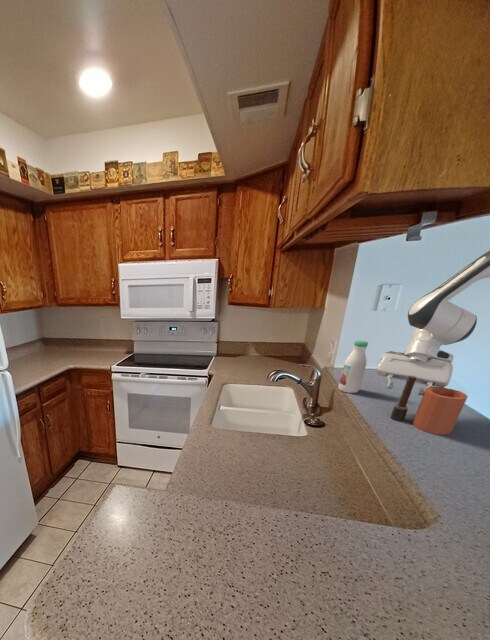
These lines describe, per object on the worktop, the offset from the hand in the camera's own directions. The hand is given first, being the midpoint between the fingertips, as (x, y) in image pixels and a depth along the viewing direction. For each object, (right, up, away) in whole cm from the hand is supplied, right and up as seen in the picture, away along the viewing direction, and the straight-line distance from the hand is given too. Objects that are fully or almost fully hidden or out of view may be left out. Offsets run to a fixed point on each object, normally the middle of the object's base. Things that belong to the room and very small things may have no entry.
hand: (404, 391), depth 109 cm
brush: (0, -9, +4) cm, 10 cm away
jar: (+7, -12, -2) cm, 14 cm away
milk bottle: (-3, +4, +28) cm, 29 cm away
